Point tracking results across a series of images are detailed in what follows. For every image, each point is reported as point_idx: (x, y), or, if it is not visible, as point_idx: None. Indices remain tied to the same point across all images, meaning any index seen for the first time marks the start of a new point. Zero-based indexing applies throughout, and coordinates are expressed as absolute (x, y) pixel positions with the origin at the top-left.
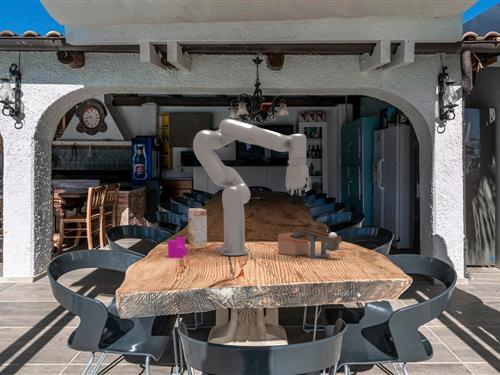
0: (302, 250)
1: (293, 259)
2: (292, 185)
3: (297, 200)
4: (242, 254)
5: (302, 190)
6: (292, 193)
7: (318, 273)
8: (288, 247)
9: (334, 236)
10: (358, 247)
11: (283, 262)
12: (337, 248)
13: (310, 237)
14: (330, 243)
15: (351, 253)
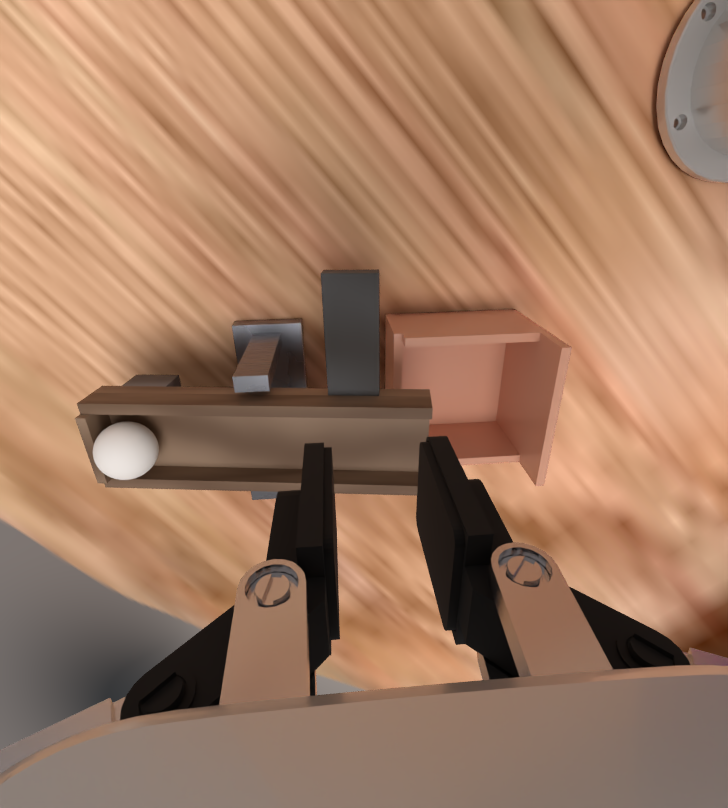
0: (387, 385)
1: (309, 213)
2: (534, 789)
3: (427, 555)
4: (666, 55)
5: (193, 704)
6: (510, 581)
7: None
8: (445, 325)
9: (96, 440)
10: (350, 674)
11: (263, 56)
12: None
13: (263, 371)
14: (115, 387)
15: (252, 558)
